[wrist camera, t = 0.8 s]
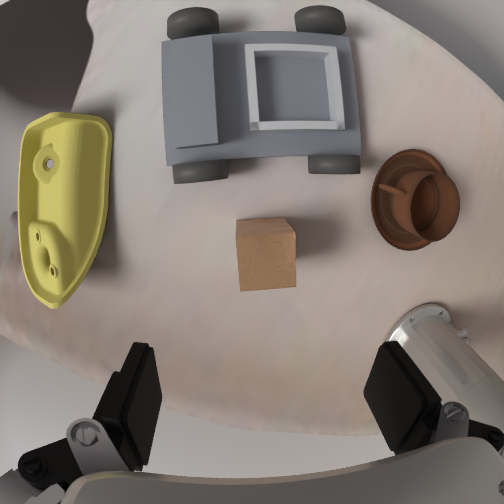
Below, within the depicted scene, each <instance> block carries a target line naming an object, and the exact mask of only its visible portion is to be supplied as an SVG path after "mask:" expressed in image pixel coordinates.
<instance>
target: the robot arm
mask: <svg viewBox="0 0 504 504" xmlns="http://www.w3.org/2000/svg"><path fill="white" fill-rule="evenodd" d="M467 334H468V330H467V328H466V327H464V328H461V329H459V330H457V329H456V328H454V327H453V326H452V325H451V317H450V315H449V313H448V311H446V310H445V309H444V308H443V307H442V306H440V305H438V304H425V305H421V306H419V307H416V308H415V309H413V310H411V311H410V312H408V313H407V314H406V315H405V316H403V317H402V318H401V319H400V320H399V321H398V322H397V323H396V325H395V326H394V327H393V328H392V330H391V331H390V333H389V335H388V336H387V339H386V341H385V342H384V343H383V344H382V345H381V346H380V347H379V349H378V352H377V355H376V358H375V361H374V364H373V367H372V369H371V372H370V375H369V378H368V380H367V383H366V385H365V388H364V397H365V399H366V401H367V403H368V405H369V407H370V409H371V411H372V413H373V415H374V417H375V419H376V422H377V424H378V426H379V428H380V430H381V432H382V434H383V436H384V438H385V440H386V442H387V445H388V447H389V448H390V450H391V451H394V453H395V456H392V457H389V458H385V459H381V460H377V461H373V462H369V463H365V464H360V465H356V466H351V467H346V468H341V469H336V470H330V471H324V472H317V473H310V474H302V475H292V476H281V477H267V478H203V477H186V476H175V475H164V474H155V473H145V472H134V470H136V471H142V468H143V465H147V464H148V460H149V456H150V451H151V447H152V442H153V437H154V433H155V428H156V424H157V419H158V415H159V411H160V406H161V402H162V392H161V387H160V382H159V377H158V372H157V366H156V360H155V355H154V349H153V347H149V344H148V343H139V342H134V343H133V345H132V347H131V349H130V351H129V353H128V355H127V358H126V360H125V362H124V364H123V366H122V369H121V371H120V372H117V371H115V372H113V374H112V376H111V378H110V380H109V382H108V384H107V386H106V389H105V391H104V393H103V395H102V397H101V400H100V402H99V404H98V406H97V409H96V411H95V413H94V416H93V418H92V419H89V418H82V419H78V420H76V421H74V422H73V423H71V424H70V426H69V427H68V429H67V433H66V436H67V438H64V439H62V440H59V441H56V442H54V443H51V444H48V445H46V446H43V447H40V448H37V449H35V450H32V451H29V452H27V453H25V454H23V455H22V456H21V457H20V459H19V461H18V469H16V470H15V471H14V470H13V469H11V470H9V471H8V472H7V473H5V474H4V475H2V476H1V477H0V504H504V381H503V380H502V379H501V378H500V377H499V376H498V375H497V374H496V372H495V371H494V370H493V369H492V368H491V367H490V366H489V365H488V364H487V363H486V362H485V361H484V360H483V359H482V358H481V357H480V356H479V355H478V354H477V353H476V352H475V351H474V350H473V349H472V348H471V347H470V346H469V339H468V338H467V337H464V338H461V337H463V336H466V335H467Z"/></svg>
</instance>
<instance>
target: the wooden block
mask: <svg viewBox="0 0 504 504" xmlns="http://www.w3.org/2000/svg"><path fill="white" fill-rule="evenodd" d="M236 247H237V259H238V270H239V281H240V291H253V290H265V289H277V288H289V287H296V240H295V231H294V230H293V229H292V228H291V226H290V225H289V224H288V222H287V221H286V220H285V219H284V217H275V218H260V219H246V220H236Z"/></svg>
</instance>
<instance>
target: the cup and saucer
mask: <svg viewBox="0 0 504 504" xmlns="http://www.w3.org/2000/svg"><path fill="white" fill-rule="evenodd" d="M459 210H460V199H459V193H458V190H457V188H456V186H455V184H454V182H453V181H452V180H451V179H450V178H449V177H448V176H447V174H446V172H445V170H444V169H443V167H442V165H441V164H440V163H439V162H438V161H437V160H436V159H435V158H434V157H433V156H432V155H430V154H428V153H427V152H424V151H421V150H416V149H409V150H404V151H401V152H398V153H396V154H395V155H393V156H392V157H390V158H389V159H388V160H387V161H386V162H385V163H384V164H383V165H382V167H381V168H380V170H379V171H378V173H377V175H376V177H375V180H374V183H373V187H372V192H371V211H372V216H373V220H374V223H375V225H376V227H377V229H378V231H379V232H380V234H381V235H382V237H383V238H384V239H385V240H386V241H387V242H388V243H389V244H391V245H392V246H394V247H396V248H398V249H401V250H406V251H412V250H418V249H421V248H423V247H425V246H427V245H429V244H430V243H431V242H434V241H439V240H441V239H443V238H445V237H446V236H447V235H448V234H449V233H450V232H451V231H452V229H453V228H454V226H455V224H456V222H457V219H458V216H459Z"/></svg>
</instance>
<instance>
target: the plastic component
mask: <svg viewBox="0 0 504 504" xmlns="http://www.w3.org/2000/svg"><path fill="white" fill-rule="evenodd" d="M112 139H113V137H112V131H111V129H110V126H109V125H108V123H107V122H106V121H105V120H104V119H103V118H101V117H99V116H95V115H87V114H78V113H68V112H53V113H49V114H47V115H45V116H43V117H41V118H39V119H37V120H35V121H33V122H31V123H30V124H29V125H28V126H27V127H26V129H25V132H24V134H23V138H22V142H21V150H20V161H19V177H18V228H19V243H20V253H21V260H22V265H23V270H24V273H25V277H26V280H27V282H28V285H29V287H30V289H31V291H32V292H33V294H34V295H35V297H36V298H37V299H38V300H40V301H41V302H42V303H44V304H45V305H47V306H48V307H50V308H51V309H55V308H58V307H60V306H62V305H63V304H64V303H65V302H66V301H67V300H68V299H69V298H70V297H71V295H72V294H73V293H74V292H75V291H76V289H77V288H78V287H79V285H80V284H81V282H82V281H83V279H84V277H85V276H86V274H87V272H88V270H89V269H90V267H91V265H92V263H93V261H94V258H95V256H96V254H97V251H98V248H99V246H100V243H101V240H102V236H103V232H104V228H105V223H106V218H107V210H108V194H109V174H110V160H111V149H112ZM50 159H52V160H53V161H54V165H53V167H52V168H51V169H48V168H47V165H46V164H47V161H48V160H50Z"/></svg>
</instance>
